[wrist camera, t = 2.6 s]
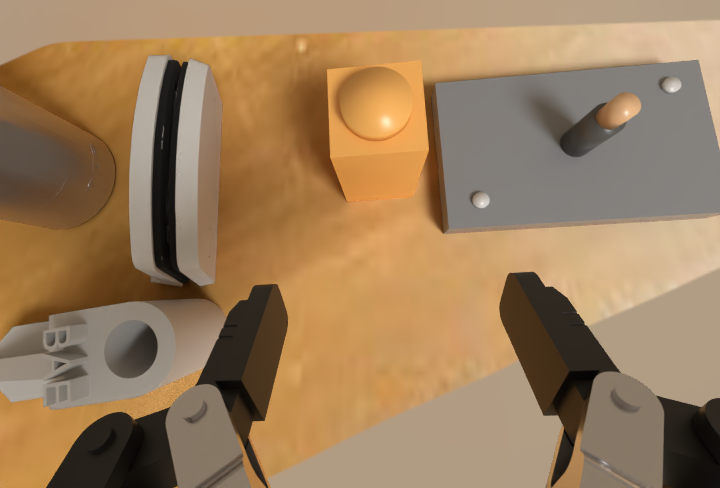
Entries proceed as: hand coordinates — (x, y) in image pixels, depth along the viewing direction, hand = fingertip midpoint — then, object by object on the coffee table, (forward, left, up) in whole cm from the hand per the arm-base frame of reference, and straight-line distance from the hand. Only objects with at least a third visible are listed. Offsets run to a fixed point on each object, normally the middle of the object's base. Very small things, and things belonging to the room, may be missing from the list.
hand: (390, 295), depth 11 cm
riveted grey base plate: (+15, +10, -14) cm, 23 cm away
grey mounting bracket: (-22, -3, -14) cm, 26 cm away
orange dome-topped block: (0, +10, -14) cm, 17 cm away
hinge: (-15, +10, -14) cm, 23 cm away
